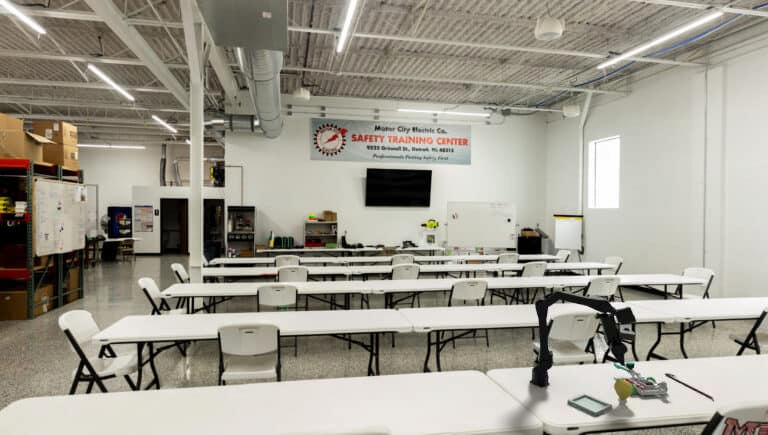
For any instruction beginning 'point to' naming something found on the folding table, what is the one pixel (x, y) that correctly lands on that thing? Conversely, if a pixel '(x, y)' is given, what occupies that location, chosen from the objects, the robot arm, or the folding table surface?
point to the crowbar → (688, 386)
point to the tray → (590, 404)
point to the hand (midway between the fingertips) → (621, 362)
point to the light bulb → (623, 391)
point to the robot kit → (642, 382)
